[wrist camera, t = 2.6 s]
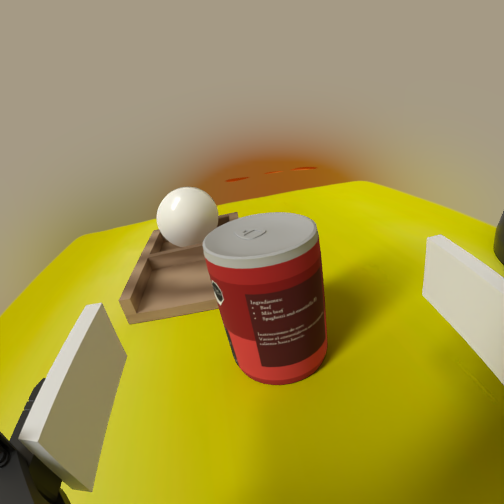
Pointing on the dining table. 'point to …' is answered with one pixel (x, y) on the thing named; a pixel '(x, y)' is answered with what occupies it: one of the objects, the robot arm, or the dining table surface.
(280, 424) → the dining table surface
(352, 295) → the dining table surface
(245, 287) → the canned food
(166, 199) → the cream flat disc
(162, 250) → the walnut tray
